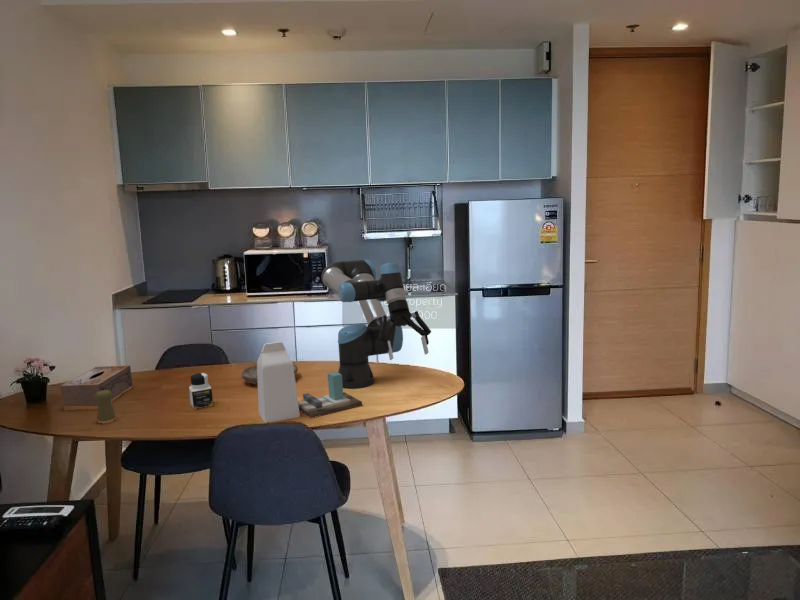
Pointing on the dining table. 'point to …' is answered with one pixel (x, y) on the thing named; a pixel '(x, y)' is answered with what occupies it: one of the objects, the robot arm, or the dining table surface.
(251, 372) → the ceramic bowl
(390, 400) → the dining table surface
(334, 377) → the teal cube on panel
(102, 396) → the green pepper shaker
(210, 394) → the medicine bottle
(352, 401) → the board
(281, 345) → the milk
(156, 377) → the dining table surface
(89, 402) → the tissue box cover
